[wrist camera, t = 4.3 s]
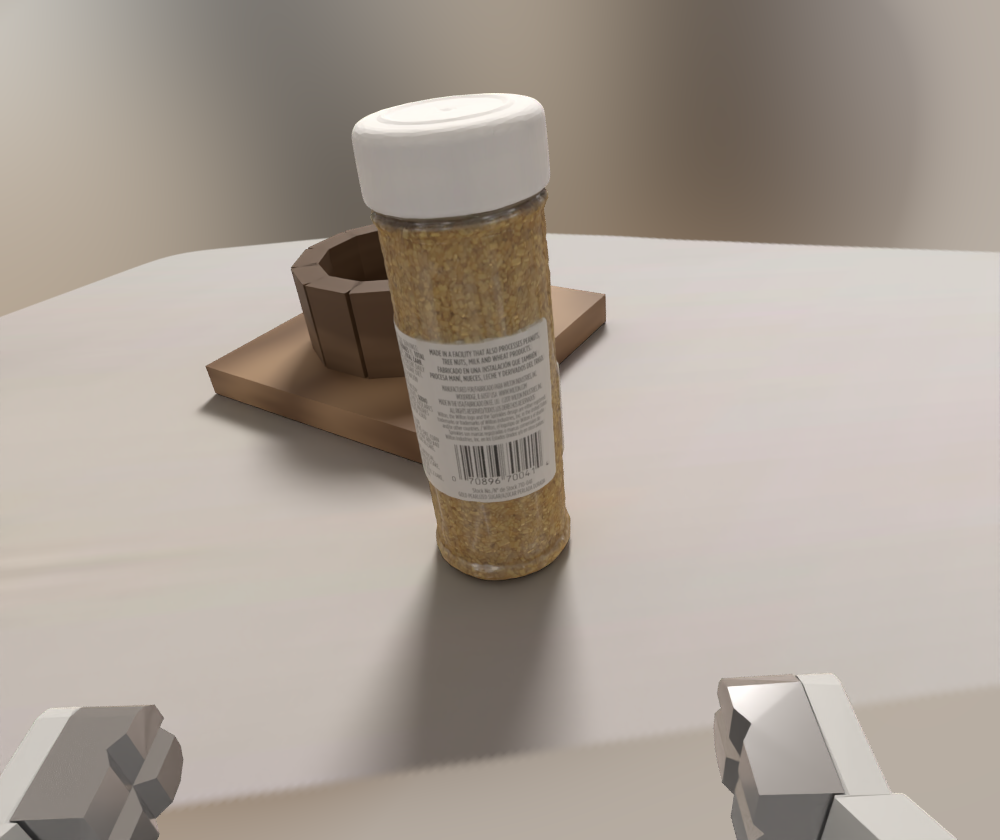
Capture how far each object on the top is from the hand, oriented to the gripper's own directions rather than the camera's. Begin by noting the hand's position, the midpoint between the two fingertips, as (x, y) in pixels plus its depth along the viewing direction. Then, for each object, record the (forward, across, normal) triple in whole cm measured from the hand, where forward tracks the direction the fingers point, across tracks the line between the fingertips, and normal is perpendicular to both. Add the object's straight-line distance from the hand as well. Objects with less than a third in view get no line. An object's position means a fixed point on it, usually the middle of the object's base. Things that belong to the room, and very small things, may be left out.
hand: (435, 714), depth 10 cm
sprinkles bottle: (+11, 0, +7) cm, 14 cm away
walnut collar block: (+25, +4, +7) cm, 26 cm away
